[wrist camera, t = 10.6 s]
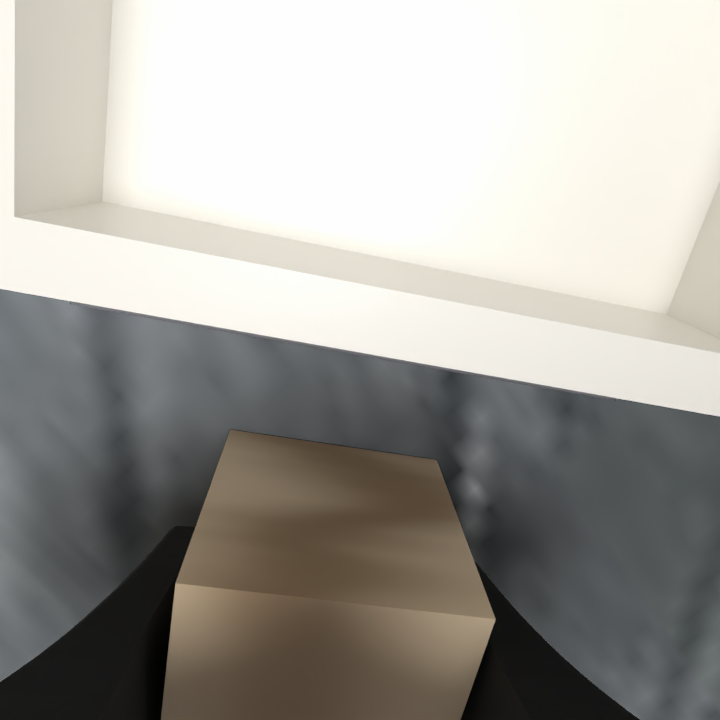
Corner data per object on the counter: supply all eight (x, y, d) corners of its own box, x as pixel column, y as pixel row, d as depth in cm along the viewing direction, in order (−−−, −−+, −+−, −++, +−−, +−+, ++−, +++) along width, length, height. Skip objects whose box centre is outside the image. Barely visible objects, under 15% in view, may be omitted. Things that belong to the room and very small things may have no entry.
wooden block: (436, 459, 13) (495, 618, 9) (392, 618, 15) (423, 825, 10) (230, 429, 13) (176, 583, 8) (207, 598, 14) (150, 808, 10)
